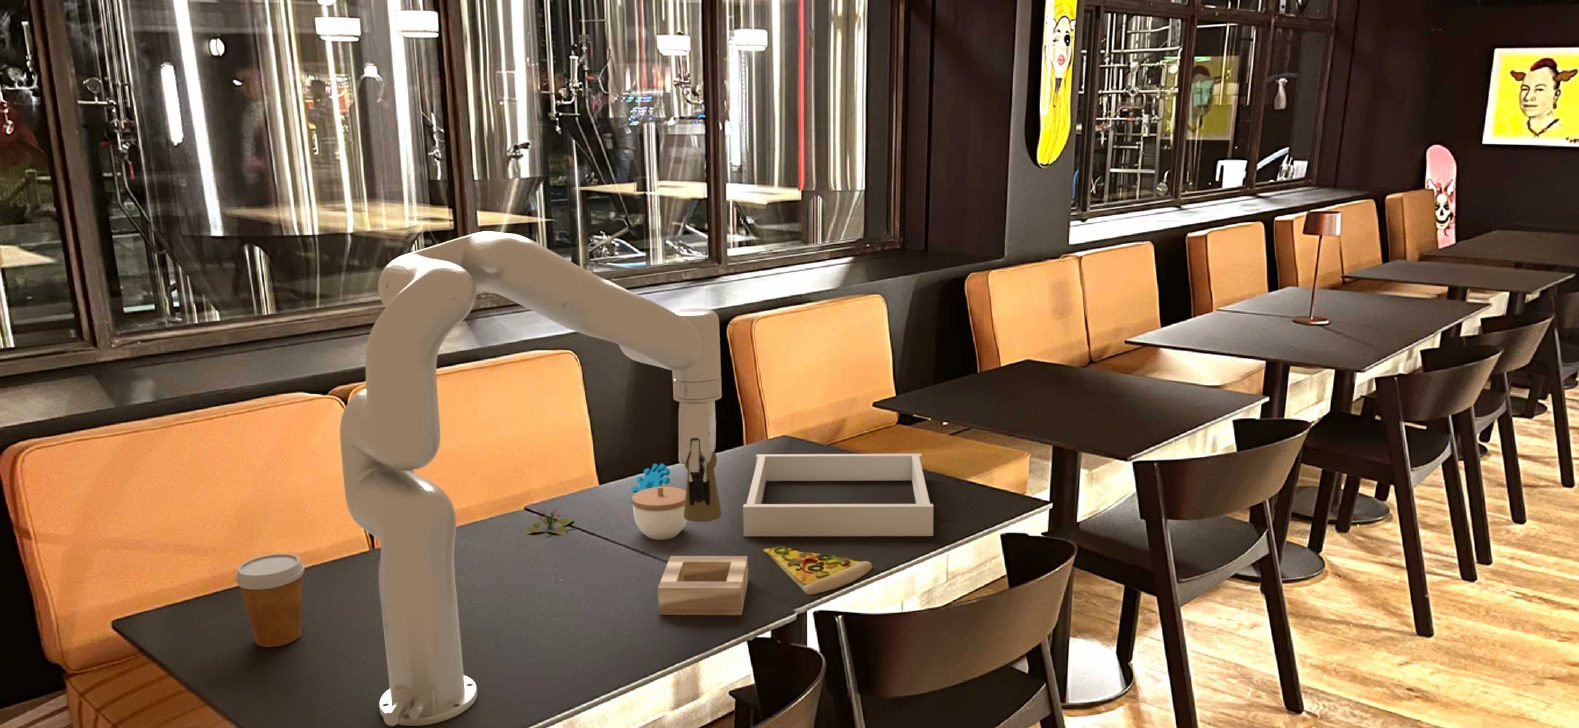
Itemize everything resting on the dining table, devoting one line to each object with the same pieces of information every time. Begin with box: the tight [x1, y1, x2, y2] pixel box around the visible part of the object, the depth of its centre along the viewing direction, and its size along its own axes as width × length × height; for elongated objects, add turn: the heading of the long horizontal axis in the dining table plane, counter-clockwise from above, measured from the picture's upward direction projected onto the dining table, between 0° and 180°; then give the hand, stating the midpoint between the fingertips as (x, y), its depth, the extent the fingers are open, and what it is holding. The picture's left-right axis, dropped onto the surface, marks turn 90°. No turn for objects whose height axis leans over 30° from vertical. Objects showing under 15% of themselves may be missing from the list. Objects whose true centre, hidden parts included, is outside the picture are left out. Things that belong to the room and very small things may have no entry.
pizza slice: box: [763, 545, 873, 595], centre depth 191 cm, size 16×21×3 cm
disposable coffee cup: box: [234, 553, 306, 648], centre depth 167 cm, size 10×10×12 cm
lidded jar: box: [631, 486, 688, 541], centre depth 207 cm, size 11×11×9 cm
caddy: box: [657, 555, 749, 616], centre depth 179 cm, size 13×13×4 cm
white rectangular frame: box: [742, 453, 934, 537], centre depth 220 cm, size 33×35×6 cm
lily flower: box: [524, 506, 577, 539], centre depth 212 cm, size 12×12×5 cm
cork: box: [683, 450, 722, 523], centre depth 176 cm, size 6×6×11 cm
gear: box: [630, 463, 671, 501], centre depth 225 cm, size 11×6×10 cm
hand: (701, 498), depth 176 cm, fingers closed on cork, 3 cm apart
